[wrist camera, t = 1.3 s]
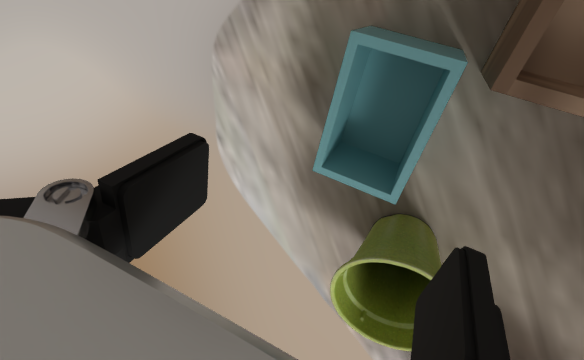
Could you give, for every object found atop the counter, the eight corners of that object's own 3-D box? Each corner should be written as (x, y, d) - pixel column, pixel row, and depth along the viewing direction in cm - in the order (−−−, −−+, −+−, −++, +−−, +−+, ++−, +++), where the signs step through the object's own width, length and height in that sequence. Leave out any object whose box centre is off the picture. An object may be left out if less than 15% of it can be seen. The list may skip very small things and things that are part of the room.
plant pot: (371, 182, 28) (347, 239, 21) (477, 222, 26) (488, 301, 19) (345, 250, 33) (318, 313, 26) (430, 288, 31) (426, 369, 24)
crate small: (462, 49, 21) (468, 62, 16) (404, 169, 26) (395, 204, 21) (371, 25, 22) (351, 30, 17) (335, 142, 28) (312, 170, 23)
